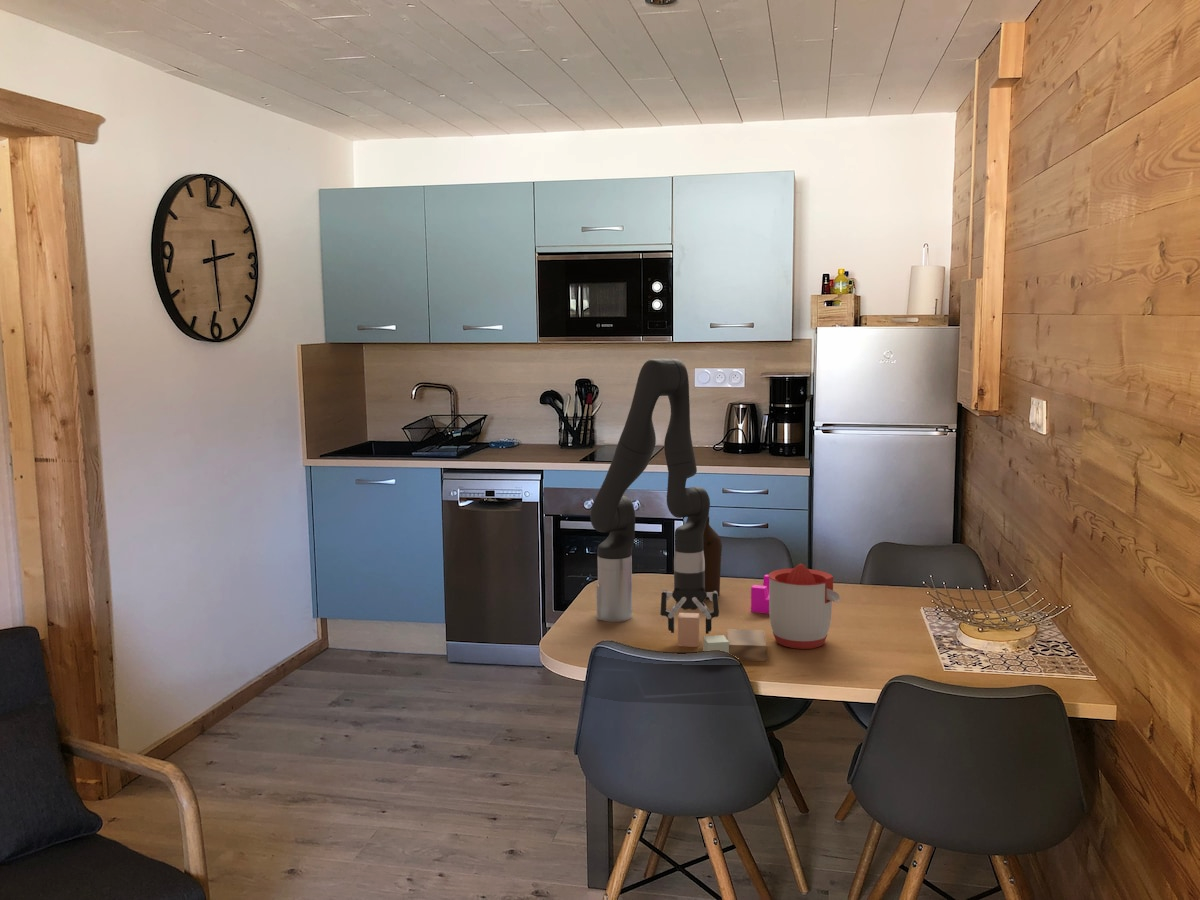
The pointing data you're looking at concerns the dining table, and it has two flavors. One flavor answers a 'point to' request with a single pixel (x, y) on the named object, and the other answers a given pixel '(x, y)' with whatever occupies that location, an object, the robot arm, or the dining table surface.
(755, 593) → the toy block
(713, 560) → the olive oil
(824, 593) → the citrus juicer
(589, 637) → the dining table surface
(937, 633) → the dining table surface
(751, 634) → the walnut base block
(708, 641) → the sage cube
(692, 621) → the clay block
